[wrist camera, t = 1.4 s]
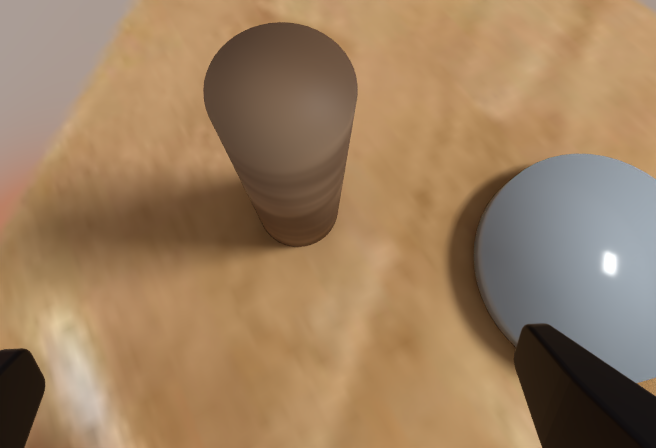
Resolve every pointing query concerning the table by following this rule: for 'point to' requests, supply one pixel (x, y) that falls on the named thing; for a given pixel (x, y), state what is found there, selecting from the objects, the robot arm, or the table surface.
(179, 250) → the table surface
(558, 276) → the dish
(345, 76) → the brown cylinder
